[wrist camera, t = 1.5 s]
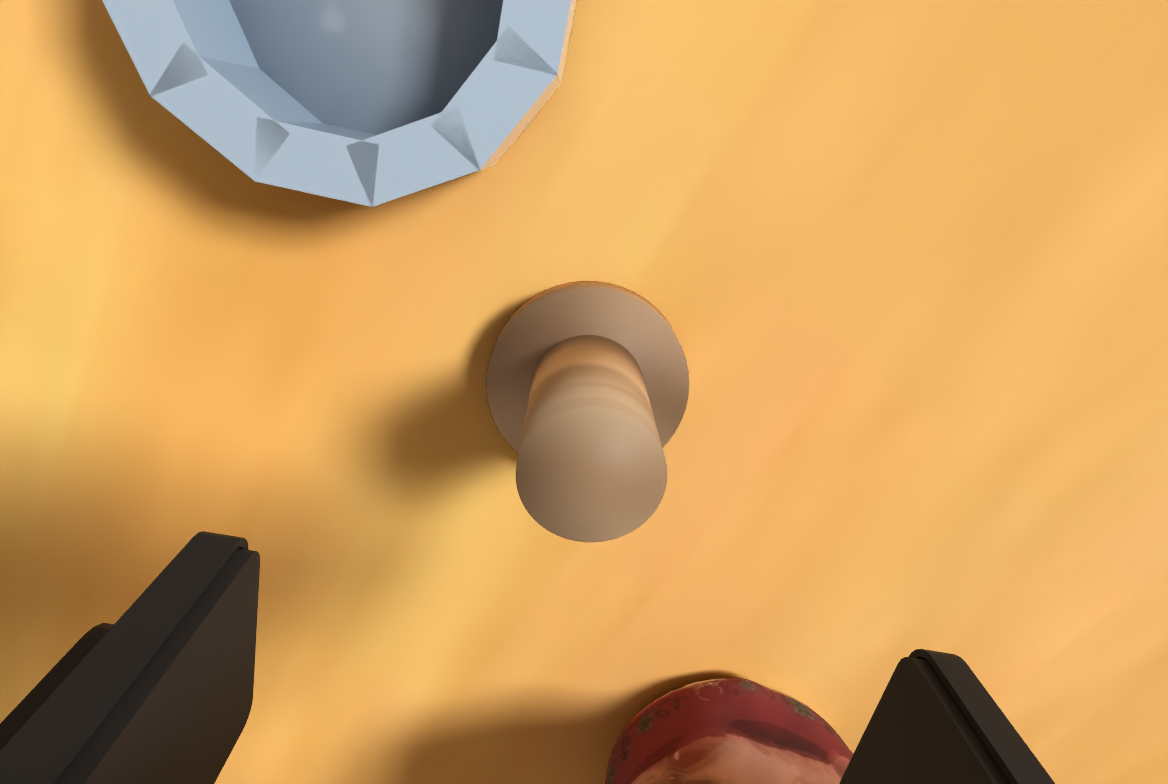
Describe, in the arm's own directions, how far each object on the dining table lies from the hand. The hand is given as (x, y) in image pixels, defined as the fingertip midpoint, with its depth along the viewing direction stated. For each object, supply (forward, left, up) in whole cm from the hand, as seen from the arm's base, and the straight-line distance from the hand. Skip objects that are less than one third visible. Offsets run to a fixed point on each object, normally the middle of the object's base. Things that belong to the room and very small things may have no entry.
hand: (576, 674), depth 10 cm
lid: (0, 0, -14) cm, 14 cm away
